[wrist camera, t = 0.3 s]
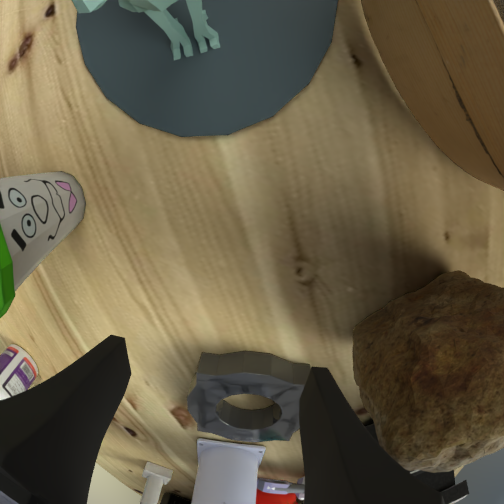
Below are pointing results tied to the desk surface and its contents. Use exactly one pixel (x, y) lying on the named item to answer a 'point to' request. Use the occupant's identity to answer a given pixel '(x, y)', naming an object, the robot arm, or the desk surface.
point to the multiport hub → (173, 499)
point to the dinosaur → (203, 58)
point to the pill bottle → (16, 371)
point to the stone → (435, 373)
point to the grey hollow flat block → (247, 382)
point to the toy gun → (282, 487)
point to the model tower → (154, 482)
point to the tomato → (275, 498)
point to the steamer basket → (448, 74)
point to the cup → (34, 224)
